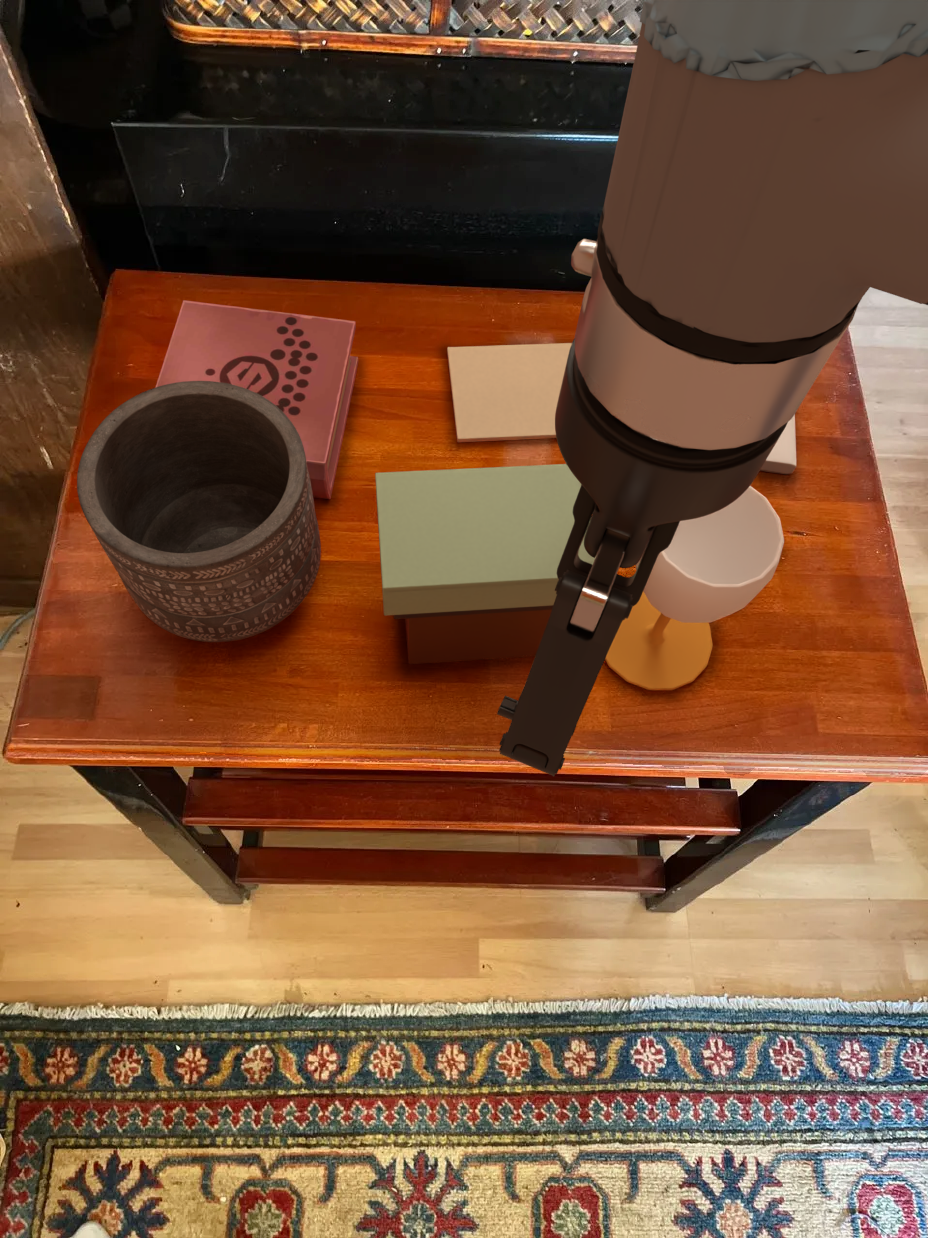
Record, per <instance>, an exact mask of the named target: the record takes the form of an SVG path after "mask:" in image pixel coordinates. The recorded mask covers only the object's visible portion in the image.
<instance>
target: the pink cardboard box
mask: <svg viewBox="0 0 928 1238" xmlns="http://www.w3.org/2000/svg"><path fill="white" fill-rule="evenodd" d="M356 329H357V327H356V321H355V320H347V319H340V318H339V319H338V318H332V317H323V316H315V315H306V314H300V313H299V314H297V313H290V312H283V311H282V312H281V311H274V310H266V309H257V308H250V307H241V306H235V305H234V306H233V305H227V304H226V305H225V304H216V303H209V302H208V303H207V302H200V301H193V300H184V299H183V300H182V303H181V307H180V310H179V313H178V315H177V319H176V322H175V326H174V328H173V331H172V335H171V337H170V340H169V344H168V347H167V350H166V353H165V355H164V359H163V363H162V365H161V368H160V371H159V375H158V378H157V381H156V385H155V387H154V388H156V387H159V386H162V385H166V384H171V383H176V382H185V381H213V382H221V383H228V384H232V385H236V386H239V387H243V388H245V389H248V390H251V391H253V392H255V393H257V394H259V395H261V396H263V397H264V398H266V399H268V400H269V401H271V402H272V403H273V404H275V405H276V406H277V407H278V408H279V409H280V410H281V411H283V413H284V414H285V415H286V416H287V417H288V418H289V419H290V421H291V422H292V423H293V425H294V426H295V428H296V430H297V432H298V434H299V436H300V438H301V441H302V444H303V447H304V451H305V456H306V462H307V468H308V473H309V477H310V482H311V487H312V492H313V498H316V499H317V498H318V499H326V500H331V499H332V493H333V489H334V484H335V479H336V475H337V470H338V469H337V468H338V464H339V460H340V454H341V450H342V444H343V439H344V434H345V430H346V426H347V425H346V424H347V420H348V415H349V410H350V405H351V399H352V396H353V391H354V385H355V380H356V375H357V370H358V365H359V357H358V356H354V355H351V352H352V349H353V343H354V337H355V335H356Z"/></svg>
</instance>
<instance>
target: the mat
mask: <svg viewBox="0 0 928 1238" xmlns="http://www.w3.org/2000/svg"><path fill="white" fill-rule="evenodd" d="M571 345H572V342H564V343H563V342H562V343H561V342H560V343H559V342H558V343H557V342H556V343H532V344H529V343H528V344H507V345H506V344H502V345H500V344H499V345H475V346H474V345H471V346H447V348H446V354H447V362H448V363H447V364H448V370H449V379H450V380H449V381H450V388H451V396H452V397H451V398H452V406H453V415H454V416H453V417H454V425H455V435H456V442H457V443H475V442H494V441H496V442H497V441H498V442H499V441H517V440H518V441H519V440H540V439H541V440H542V439H543V440H545V439H557V438H556V431H555V413H556V407H557V402H558V398H559V394H560V389H561V385H562V381H563V376H564V372H565V368H566V363H567V359H568V355H569V350H570V348H571Z"/></svg>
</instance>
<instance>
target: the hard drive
mask: <svg viewBox="0 0 928 1238" xmlns="http://www.w3.org/2000/svg"><path fill="white" fill-rule="evenodd" d="M796 436H797V435H796V413H795V414H794V416H793V418H792V419H791V420H790V421H788V423H787V425H786V427H785V429H784V431H783V432H782V434H781V436H780V437H779V439H778V441H777V442H776V444H775V446H774V447H773V449H772V451H771V452H770V454H769V456H768V458H767V459H766V461H765V463H764V464H763V466H762V468H761V469H760V471H759V472H767V473H775V474H781V475H792V474H793V473H794V471H795V469H796V468H797V439H796V438H797V437H796Z"/></svg>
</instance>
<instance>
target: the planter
mask: <svg viewBox="0 0 928 1238" xmlns="http://www.w3.org/2000/svg"><path fill="white" fill-rule="evenodd" d="M155 387H156V386H155ZM155 387H153V388H150V389H148V390H145V391H143V392H141V393H139V394H136V395H135V396H132V397H130V398H129V399H127V400H126V401H125V402H123V403H121V404H120V405H119V406H116V407H115V409H113V410H112V411H111V412H110V413H108V415H107V416H106V417H105V418H104V419H103V420H102V421H101V423H100V424H99V425H98V426H97V427H96V429H95V430H94V432H93V433H92V434H91V436H90V437H89V439H88V441H87V442H86V445H85V446H84V449H83V452H82V454H81V456H80V460H79V464H78V468H77V475H76V490H77V492H76V493H77V497H78V502H79V505H80V508H81V511H82V514H83V515H84V517H85V519H86V521H87V523H88V525H89V526H90V528H91V530H92V531H93V533H94V535H95V537H96V538H97V540H98V542H99V544H100V546H101V548H102V550H103V551H104V553H105V554H106V556H107V558H108V560H109V561H110V563H111V564H112V566H113V567H114V569H115V571H116V572H117V574H118V576H119V578H120V580H121V582H122V583H123V586H124V587H125V589H126V590H127V592H128V594H129V596H130V597H131V599H132V600H133V601H134V603H135V604H136V606H137V607H138V609H139V610H140V611H141V612H142V613H143V614H144V616H146V617H147V619H149V620H150V621H151V622H153V623H154V624H155V625H157V626H158V627H159V628H161V629H163V630H165V631H166V632H168V633H171V634H173V635H175V636H177V637H180V638H185V639H187V640H190V641H191V640H192V641H198V642H204V643H226V642H234V641H241V640H244V639H248V638H252V637H254V636H257V635H259V634H261V633H264V632H266V631H268V630H270V629H273V627H275V626H277V625H278V624H280V623H281V622H283V621H285V620H286V618H288V617H289V616H290V615H292V614H293V612H295V611H296V609H298V607H299V606H300V605H302V603H303V602H304V600H305V599H306V597H307V596H308V595H309V593H310V591H311V590H312V588H313V586H314V583H315V582H316V579H317V577H318V574H319V569H320V565H321V559H322V557H321V556H322V544H321V534H320V527H319V523H318V518H317V513H316V509H315V501H314V500H315V499H314V497H313V492H312V487H311V482H310V477H309V473H308V468H307V462H306V456H305V451H304V447H303V444H302V441H301V438H300V436H299V434H298V432H297V430H296V428H295V426H294V425H293V423H292V422H291V421H290V419H289V418H288V417H287V416H286V415H285V414H284V413H283V411H281V410H280V409H279V408H278V407H277V406H276V405H275V404H273V403H272V402H271V401H269V400H268V399H266V398H264V397H263V396H261V395H259V394H257V393H255V392H253V391H251V390H248V389H245V388H243V387H239V386H236V385H232V384H228V383H221V382H213V381H185V382H176V383H171V384H166V385H162V386H159V387H156V388H155Z"/></svg>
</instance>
